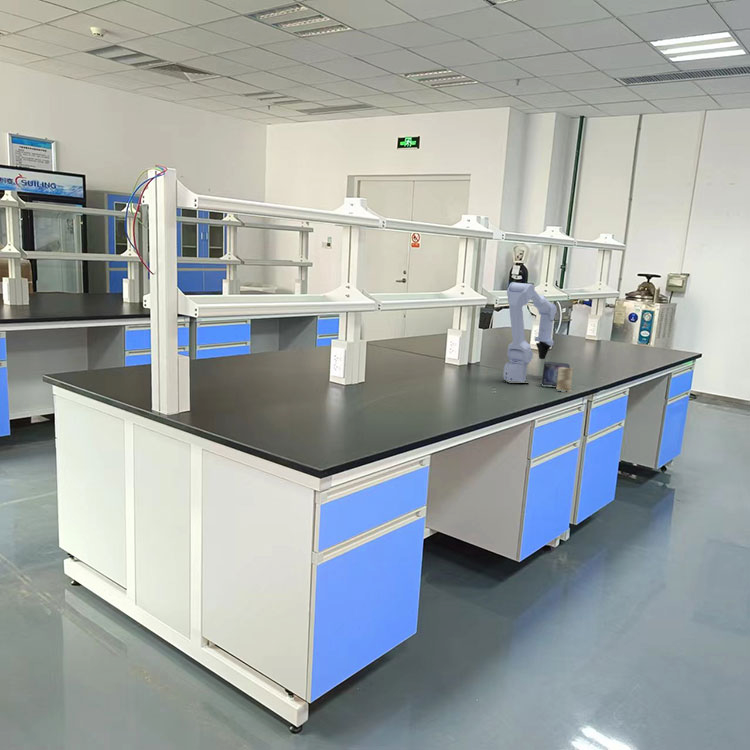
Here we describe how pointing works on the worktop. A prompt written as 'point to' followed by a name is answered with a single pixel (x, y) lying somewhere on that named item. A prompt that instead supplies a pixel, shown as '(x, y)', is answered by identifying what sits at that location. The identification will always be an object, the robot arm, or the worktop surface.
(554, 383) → the small box
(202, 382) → the worktop surface
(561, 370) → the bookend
